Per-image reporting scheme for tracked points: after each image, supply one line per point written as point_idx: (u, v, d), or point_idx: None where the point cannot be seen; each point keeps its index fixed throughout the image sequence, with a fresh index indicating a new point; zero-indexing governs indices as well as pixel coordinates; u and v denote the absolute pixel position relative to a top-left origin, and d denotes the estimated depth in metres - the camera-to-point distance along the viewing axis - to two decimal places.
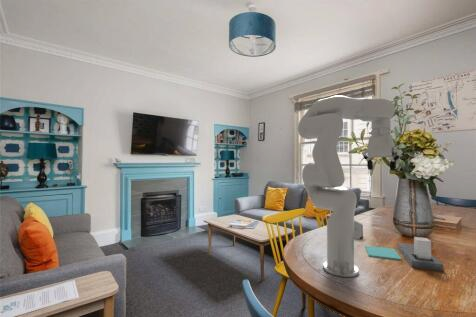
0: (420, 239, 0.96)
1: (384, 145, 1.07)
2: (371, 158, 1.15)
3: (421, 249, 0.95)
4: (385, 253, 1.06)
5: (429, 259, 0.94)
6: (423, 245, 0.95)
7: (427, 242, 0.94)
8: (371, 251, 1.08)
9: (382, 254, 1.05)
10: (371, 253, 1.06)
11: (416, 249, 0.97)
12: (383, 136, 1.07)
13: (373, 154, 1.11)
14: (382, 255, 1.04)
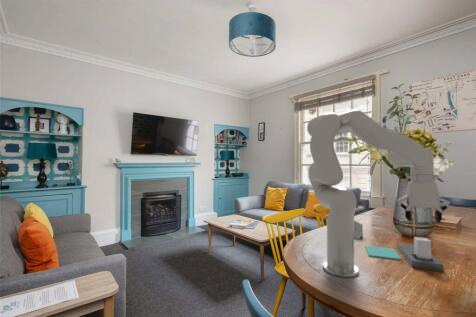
0: (420, 239, 0.96)
1: None
2: None
3: (421, 249, 0.95)
4: (385, 253, 1.06)
5: (429, 259, 0.94)
6: (423, 245, 0.95)
7: (427, 242, 0.94)
8: (371, 251, 1.08)
9: (382, 254, 1.05)
10: (371, 253, 1.06)
11: (416, 249, 0.97)
12: None
13: None
14: (382, 255, 1.04)
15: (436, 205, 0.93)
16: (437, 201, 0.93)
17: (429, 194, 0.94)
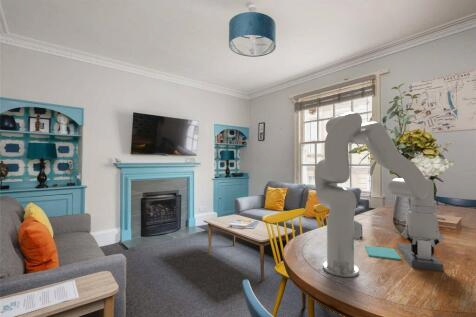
0: (420, 239, 0.96)
1: None
2: None
3: (421, 249, 0.95)
4: (385, 253, 1.06)
5: (429, 259, 0.94)
6: (423, 245, 0.95)
7: (427, 242, 0.94)
8: (371, 251, 1.08)
9: (382, 254, 1.05)
10: (371, 253, 1.06)
11: None
12: None
13: None
14: (382, 255, 1.04)
15: (436, 237, 0.93)
16: (437, 233, 0.93)
17: (429, 226, 0.94)
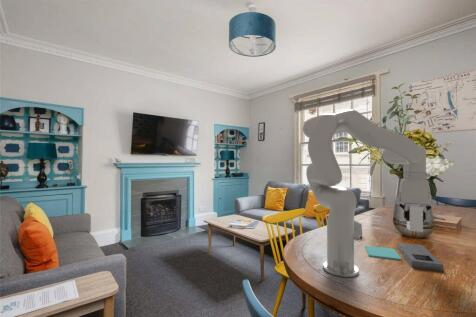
0: (412, 205, 0.98)
1: None
2: None
3: (413, 215, 0.97)
4: (385, 253, 1.06)
5: (421, 224, 0.96)
6: (415, 210, 0.96)
7: (419, 207, 0.96)
8: (371, 251, 1.08)
9: (382, 254, 1.05)
10: (371, 253, 1.06)
11: None
12: None
13: None
14: (382, 255, 1.04)
15: (427, 202, 0.95)
16: (428, 198, 0.95)
17: (421, 191, 0.96)
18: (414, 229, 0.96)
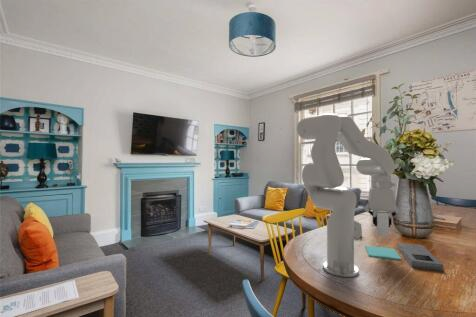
0: (380, 212, 1.08)
1: None
2: None
3: (380, 221, 1.06)
4: (385, 253, 1.06)
5: (387, 229, 1.05)
6: (381, 217, 1.06)
7: (385, 214, 1.06)
8: (371, 251, 1.08)
9: (382, 254, 1.05)
10: (371, 253, 1.06)
11: None
12: None
13: None
14: (382, 255, 1.04)
15: (392, 209, 1.05)
16: (393, 206, 1.04)
17: (386, 199, 1.05)
18: (381, 233, 1.06)
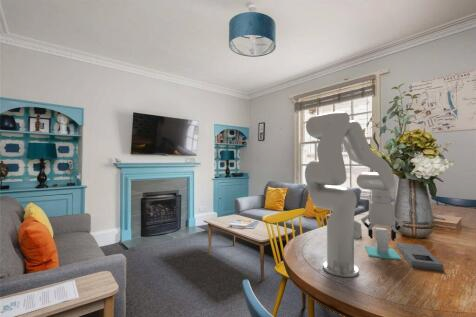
0: (379, 229, 1.07)
1: None
2: None
3: (380, 238, 1.06)
4: None
5: (387, 247, 1.05)
6: (381, 234, 1.06)
7: (385, 232, 1.05)
8: (371, 251, 1.08)
9: (382, 254, 1.05)
10: (371, 253, 1.06)
11: (376, 238, 1.08)
12: None
13: None
14: (382, 255, 1.04)
15: (392, 224, 1.05)
16: (393, 221, 1.04)
17: (386, 214, 1.05)
18: (381, 251, 1.06)
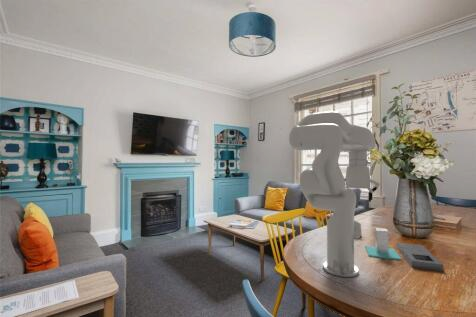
0: (379, 229, 1.07)
1: None
2: None
3: (380, 238, 1.06)
4: None
5: (387, 247, 1.05)
6: (381, 234, 1.06)
7: (385, 232, 1.05)
8: (371, 251, 1.08)
9: (382, 254, 1.05)
10: (371, 253, 1.06)
11: (376, 238, 1.08)
12: None
13: None
14: (382, 255, 1.04)
15: (367, 186, 1.07)
16: (368, 182, 1.07)
17: (362, 176, 1.08)
18: (381, 251, 1.06)
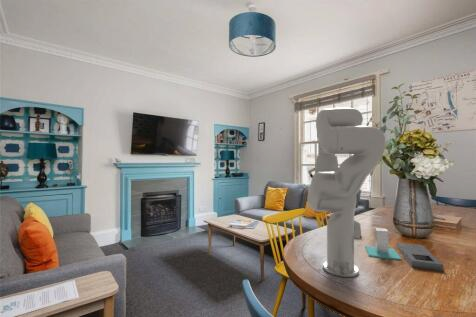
0: (379, 229, 1.07)
1: None
2: None
3: (380, 238, 1.06)
4: None
5: (387, 247, 1.05)
6: (381, 234, 1.06)
7: (385, 232, 1.05)
8: (371, 251, 1.08)
9: (382, 254, 1.05)
10: (371, 253, 1.06)
11: (376, 238, 1.08)
12: None
13: None
14: (382, 255, 1.04)
15: None
16: (336, 171, 1.11)
17: (330, 165, 1.12)
18: (381, 251, 1.06)
